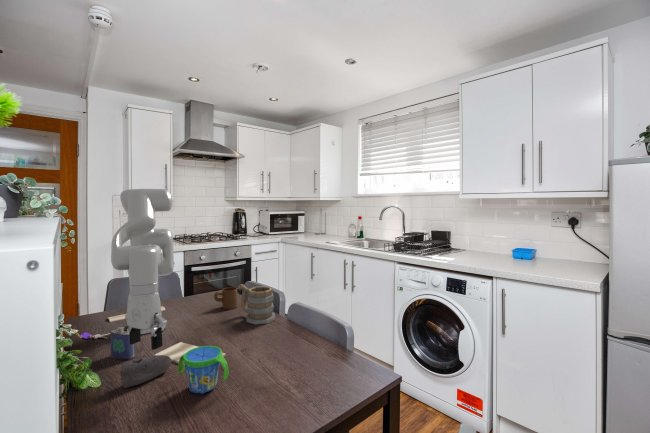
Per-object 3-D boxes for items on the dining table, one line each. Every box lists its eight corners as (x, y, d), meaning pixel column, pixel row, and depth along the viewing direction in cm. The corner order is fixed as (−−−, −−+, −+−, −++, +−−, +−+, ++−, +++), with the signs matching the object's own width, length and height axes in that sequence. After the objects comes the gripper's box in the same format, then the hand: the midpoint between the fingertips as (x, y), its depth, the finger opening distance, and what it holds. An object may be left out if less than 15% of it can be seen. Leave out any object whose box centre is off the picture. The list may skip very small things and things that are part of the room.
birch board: (154, 356, 114) (154, 354, 114) (180, 344, 124) (180, 342, 124) (201, 370, 105) (201, 367, 105) (225, 355, 115) (225, 353, 115)
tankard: (280, 317, 152) (279, 285, 152) (261, 326, 142) (260, 292, 141) (249, 310, 163) (248, 280, 163) (229, 317, 153) (228, 286, 152)
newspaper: (161, 308, 168) (161, 305, 168) (166, 312, 163) (166, 308, 163) (107, 320, 152) (107, 316, 152) (110, 324, 147) (110, 320, 147)
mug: (217, 312, 160) (217, 293, 159) (211, 308, 165) (210, 290, 165) (240, 307, 168) (239, 289, 167) (233, 303, 173) (233, 286, 173)
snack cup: (237, 383, 97) (236, 349, 97) (212, 403, 88) (212, 366, 87) (195, 373, 103) (195, 341, 103) (168, 391, 93) (167, 356, 93)
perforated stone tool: (168, 367, 107) (167, 346, 107) (175, 372, 104) (174, 351, 103) (116, 387, 96) (115, 363, 96) (122, 394, 92) (121, 369, 92)
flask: (136, 357, 114) (135, 326, 114) (129, 361, 111) (127, 330, 111) (115, 353, 117) (114, 324, 116) (107, 357, 114) (106, 327, 113)
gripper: (113, 289, 99) (115, 345, 99) (152, 294, 91) (154, 355, 92) (137, 283, 105) (138, 336, 106) (175, 288, 98) (176, 345, 98)
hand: (145, 345), depth 99 cm, fingers open, 9 cm apart
